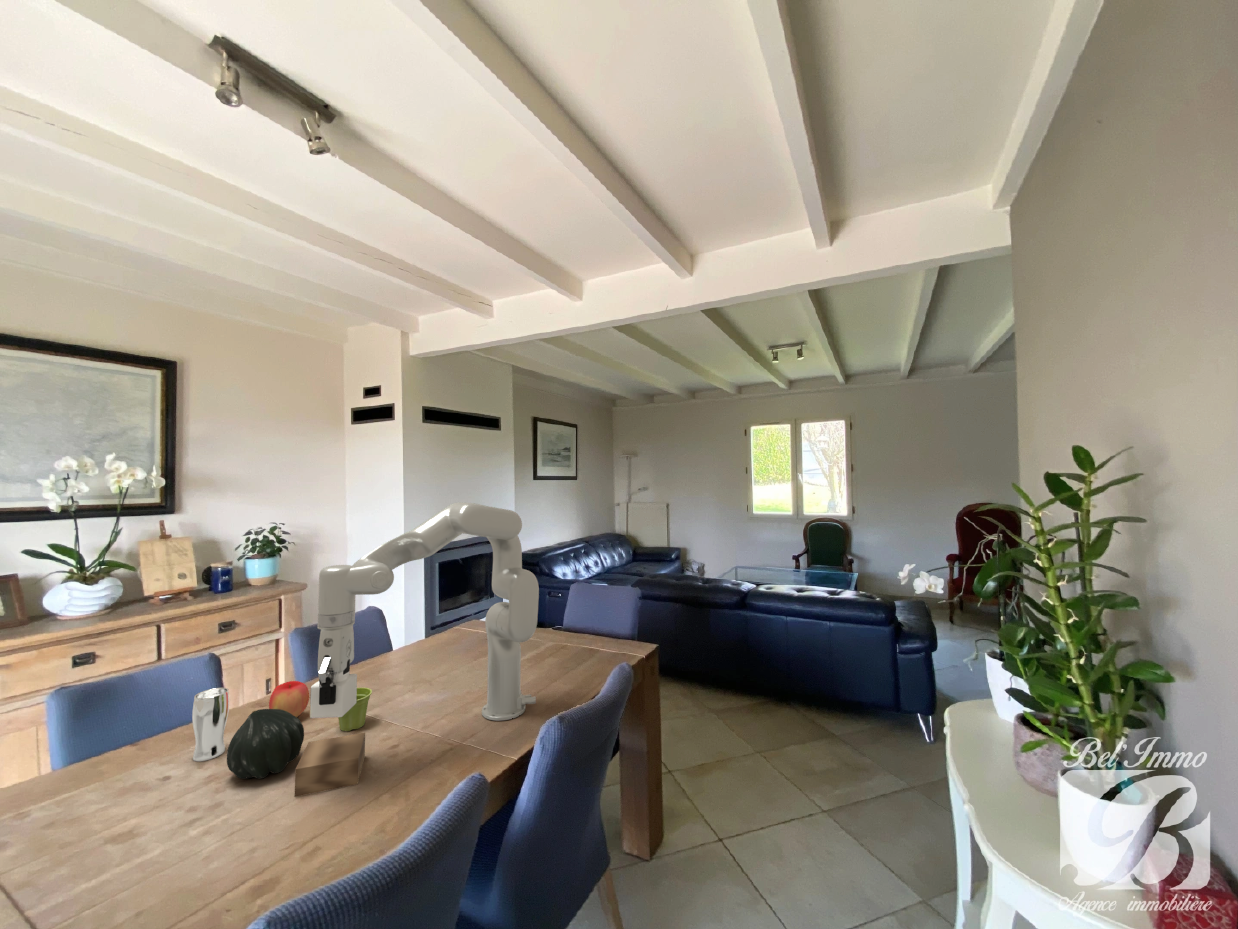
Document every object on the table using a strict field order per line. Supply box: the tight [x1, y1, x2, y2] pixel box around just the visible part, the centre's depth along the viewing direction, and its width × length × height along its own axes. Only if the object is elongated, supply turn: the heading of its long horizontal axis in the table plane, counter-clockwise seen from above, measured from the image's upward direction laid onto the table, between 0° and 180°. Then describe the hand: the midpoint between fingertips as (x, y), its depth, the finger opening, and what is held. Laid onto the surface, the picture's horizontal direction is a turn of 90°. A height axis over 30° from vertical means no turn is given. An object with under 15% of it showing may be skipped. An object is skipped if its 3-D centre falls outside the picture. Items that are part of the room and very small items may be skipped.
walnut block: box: [293, 732, 366, 798], centre depth 110 cm, size 12×12×6 cm
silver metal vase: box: [191, 687, 230, 762], centre depth 119 cm, size 7×7×15 cm
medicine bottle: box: [309, 659, 358, 719], centre depth 111 cm, size 7×7×12 cm
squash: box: [226, 708, 305, 780], centre depth 113 cm, size 14×15×15 cm
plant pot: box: [337, 687, 373, 732], centre depth 133 cm, size 9×9×9 cm
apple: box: [268, 680, 310, 718], centre depth 137 cm, size 10×10×10 cm
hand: (334, 695), depth 111 cm, fingers closed on medicine bottle, 7 cm apart
